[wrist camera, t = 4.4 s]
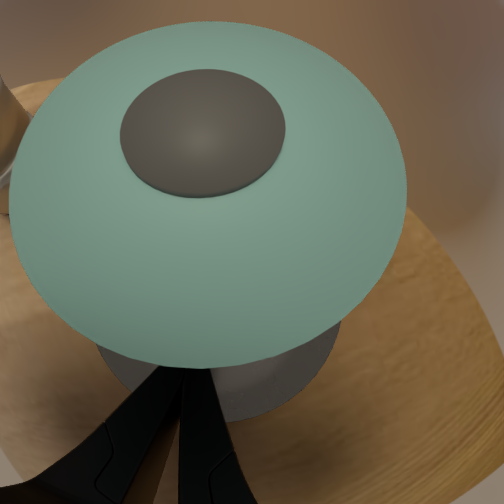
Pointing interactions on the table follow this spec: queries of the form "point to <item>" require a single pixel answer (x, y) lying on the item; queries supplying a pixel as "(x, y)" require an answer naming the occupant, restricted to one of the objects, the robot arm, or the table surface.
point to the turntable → (245, 376)
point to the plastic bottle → (9, 139)
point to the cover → (207, 195)
